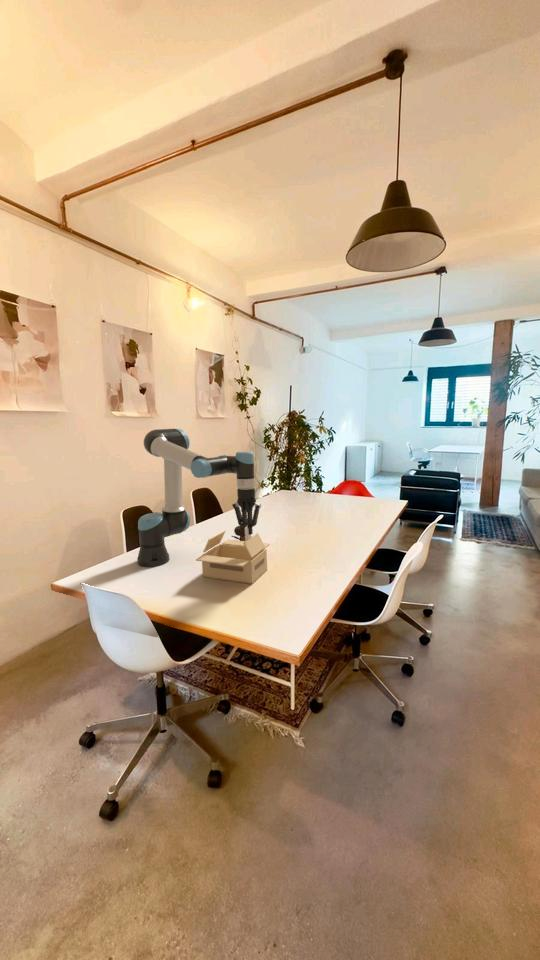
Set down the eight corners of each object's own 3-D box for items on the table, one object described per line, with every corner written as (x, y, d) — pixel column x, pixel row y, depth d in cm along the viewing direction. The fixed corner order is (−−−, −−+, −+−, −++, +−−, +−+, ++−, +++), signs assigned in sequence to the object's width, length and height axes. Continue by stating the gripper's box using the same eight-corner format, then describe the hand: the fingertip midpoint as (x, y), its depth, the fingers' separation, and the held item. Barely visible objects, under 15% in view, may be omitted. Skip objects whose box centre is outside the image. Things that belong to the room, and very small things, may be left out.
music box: (262, 553, 196) (259, 516, 191) (248, 561, 187) (244, 522, 183) (240, 547, 205) (237, 512, 201) (226, 555, 197) (222, 518, 192)
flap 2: (250, 558, 158) (243, 543, 158) (264, 547, 170) (256, 533, 171) (251, 557, 157) (244, 542, 158) (265, 547, 170) (257, 533, 170)
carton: (195, 582, 161) (193, 559, 160) (227, 559, 187) (226, 539, 186) (246, 590, 152) (245, 565, 151) (272, 565, 178) (271, 544, 177)
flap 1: (203, 551, 166) (208, 538, 164) (219, 542, 179) (224, 530, 177) (204, 552, 166) (209, 539, 164) (220, 542, 179) (225, 530, 177)
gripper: (228, 488, 160) (230, 542, 164) (256, 490, 156) (258, 545, 159) (236, 486, 167) (238, 537, 171) (263, 487, 162) (265, 540, 166)
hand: (248, 541), depth 165 cm, fingers closed
